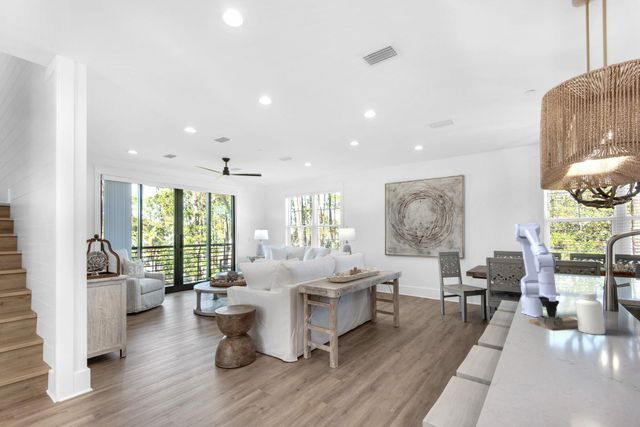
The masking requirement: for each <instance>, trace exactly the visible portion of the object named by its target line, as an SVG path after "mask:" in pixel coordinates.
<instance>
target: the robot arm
mask: <svg viewBox="0 0 640 427" xmlns="http://www.w3.org/2000/svg"><path fill="white" fill-rule="evenodd" d="M513 229H514V230H513V232H514V237H515V240H516V241H517V242H518V243H520V246H521V251H522V258H523V263H524V269H525V270H524V271H525V275H524V276H523V277H521V279H520V292H521V294H522V296H521V298H520V303H521V311H520V313H521V314H525V315H527V316H530V317H533V318H538V317H539V315H543V309H542V307H546V310H547V314H548V317H555V315H556V309H557V310H558V305H559V304H560V301H559V300H556V298H557V296H561V294H560V293H557V288H556V278H555V268H556V264H557V263H556V261H557V260H556V257H555V255H554V253H551V252H549V250H548V248H547V247H546V244H545V243H543V242H541V240H540V237H539V236H540V234H541V226H540V224H539V223H538V222H527V223H518V222H517V223H515V224H514V228H513Z"/></svg>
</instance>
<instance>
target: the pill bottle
mask: <svg viewBox="0 0 640 427" xmlns="http://www.w3.org/2000/svg"><path fill="white" fill-rule="evenodd" d="M575 311H576V320H577V322H578V328H577V329H578V331H579V332H581V333H583V334H589V335H604V334H606V327H605V319H604V311H603V305H602V302H601V301H599V300H598V299H597V293H596V292H591V291H579V292H578V299H576V300H575Z"/></svg>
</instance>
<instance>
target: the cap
mask: <svg viewBox="0 0 640 427" xmlns="http://www.w3.org/2000/svg"><path fill="white" fill-rule="evenodd" d="M542 309H543V317H544V318H548V319H557V318H558V317H559V316H558V308H557V309H556V315H555V317H548V314H547V310H546V307H542ZM557 316H558V317H557Z"/></svg>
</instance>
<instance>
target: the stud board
mask: <svg viewBox="0 0 640 427" xmlns="http://www.w3.org/2000/svg"><path fill="white" fill-rule="evenodd" d="M557 317H558V318H557V319H548V318H544V317H543V315H539V317H537V318H535V319H534V318H533V319H529V320H528V321H529V323H530V324H532V325H536V326H538V327H541V328H545V329H547V330H549V331H550V330H551V331H562V330H563V331H564V330H574V329H578V322H577V318H576V319H575V318H572V317H569V316H562V317H561V316H558V315H557Z"/></svg>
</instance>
